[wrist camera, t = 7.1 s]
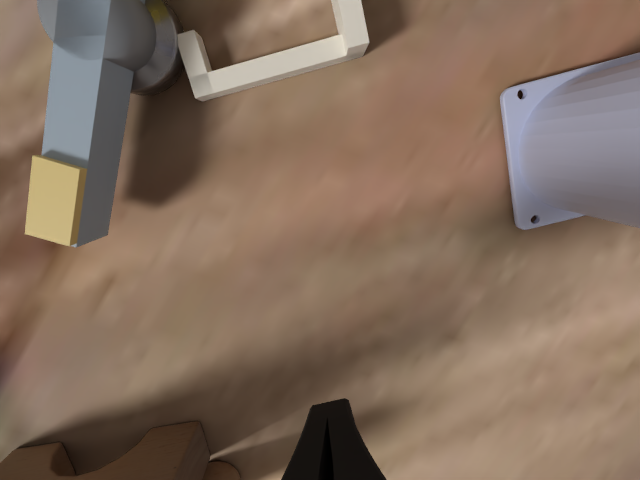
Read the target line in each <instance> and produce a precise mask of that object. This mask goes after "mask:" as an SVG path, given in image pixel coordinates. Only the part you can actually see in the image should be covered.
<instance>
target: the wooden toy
mask: <svg viewBox="0 0 640 480" xmlns="http://www.w3.org/2000/svg"><path fill="white" fill-rule="evenodd" d="M209 459H210V452H209V449H208V446H207V443H206V440H205V436H204V433H203V430H202V427H201V424H200V422H199V421H195V422H189V423H182V424H176V425H169V426H162V427H156V428H152V429H150V430H149V431H148V433H147V434H146V435H145V436H144V437H143V439H142V440H141V441H140V442H139V443H138V444H137V445H136V446H134V447H133V448H132V449H131V450H129V451H128V452H127V453H125V454H124V455H123V456H122V457H120V458H119V459H117V460H115V461H113V462H111V463H110V464H108V465H106V466H104V467H102V468H100V469H98V470H96V471H92V472H89V473H85V474H82V475H78V476H76V474H75V471H74V469H73V467H72V465H71V462H70V460H69V458H68V455H67V453H66V451H65V449H64V446H63V444H62V443H60V442H58V443H51V444H45V445H38V446H32V447H25V448H19V449H15V450H14V451H12V452H11V453H10V454H9V455H8V456H7V457H6V458H5V459H4V460H3V461H2V462H1V463H0V480H240V476H239V473H238V471H237V469H236V468H234V467H233V466H232V465H230V464H229V463H226V462H222V461H214V462H210V463H208V462H209Z"/></svg>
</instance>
